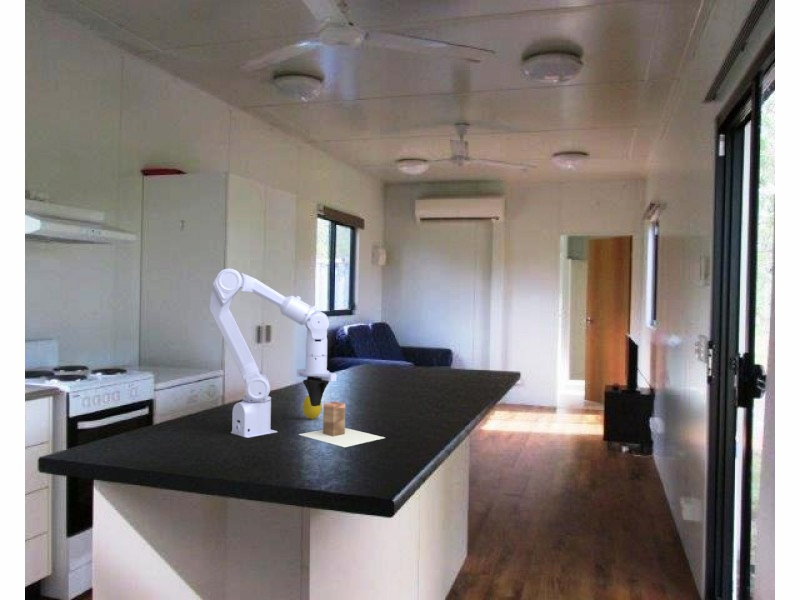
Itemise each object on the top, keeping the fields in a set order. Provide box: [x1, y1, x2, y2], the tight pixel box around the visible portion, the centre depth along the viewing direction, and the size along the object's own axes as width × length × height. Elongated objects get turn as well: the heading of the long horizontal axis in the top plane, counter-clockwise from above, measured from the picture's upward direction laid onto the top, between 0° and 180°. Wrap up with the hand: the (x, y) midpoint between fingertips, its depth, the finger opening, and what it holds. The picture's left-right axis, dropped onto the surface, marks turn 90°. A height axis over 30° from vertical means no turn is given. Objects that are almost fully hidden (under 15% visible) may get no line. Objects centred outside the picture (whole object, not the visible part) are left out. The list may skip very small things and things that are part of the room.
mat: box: [298, 427, 386, 448], centre depth 148 cm, size 14×18×1 cm
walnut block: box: [322, 401, 346, 437], centre depth 150 cm, size 4×4×8 cm
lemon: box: [302, 395, 323, 420], centre depth 169 cm, size 6×6×8 cm
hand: (315, 405), depth 156 cm, fingers closed
